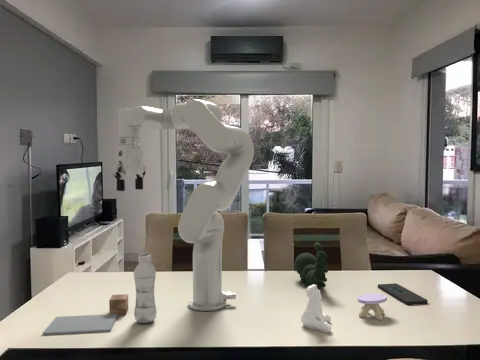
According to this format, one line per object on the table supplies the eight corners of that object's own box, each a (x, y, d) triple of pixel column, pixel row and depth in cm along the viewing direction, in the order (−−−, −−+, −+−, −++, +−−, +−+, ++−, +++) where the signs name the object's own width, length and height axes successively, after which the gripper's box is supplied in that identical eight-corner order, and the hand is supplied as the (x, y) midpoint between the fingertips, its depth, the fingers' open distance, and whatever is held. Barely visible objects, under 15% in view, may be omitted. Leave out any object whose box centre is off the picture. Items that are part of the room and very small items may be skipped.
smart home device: (396, 282, 156) (429, 300, 137) (396, 287, 156) (428, 305, 137) (376, 283, 155) (406, 301, 135) (376, 288, 155) (406, 306, 135)
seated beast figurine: (331, 333, 113) (332, 290, 112) (300, 331, 114) (300, 289, 114) (330, 320, 122) (330, 281, 121) (301, 319, 123) (301, 279, 123)
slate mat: (117, 315, 126) (117, 313, 126) (110, 331, 114) (110, 329, 114) (56, 318, 124) (56, 316, 124) (42, 335, 112) (42, 333, 112)
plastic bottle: (160, 318, 123) (160, 253, 123) (148, 327, 117) (148, 258, 116) (142, 316, 126) (141, 251, 125) (129, 324, 119) (128, 256, 118)
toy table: (379, 309, 132) (379, 291, 132) (394, 319, 123) (394, 300, 123) (350, 311, 130) (351, 293, 130) (364, 321, 121) (364, 302, 121)
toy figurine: (333, 297, 149) (310, 273, 173) (335, 246, 146) (311, 229, 171) (308, 298, 147) (288, 274, 171) (310, 247, 145) (290, 230, 169)
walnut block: (128, 309, 132) (128, 294, 132) (126, 315, 127) (126, 299, 127) (112, 310, 131) (112, 294, 131) (109, 315, 126) (109, 299, 126)
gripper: (120, 141, 139) (121, 191, 140) (153, 143, 154) (153, 189, 155) (104, 142, 142) (104, 191, 143) (137, 144, 158) (138, 188, 158)
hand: (130, 190), depth 149 cm, fingers open, 9 cm apart
